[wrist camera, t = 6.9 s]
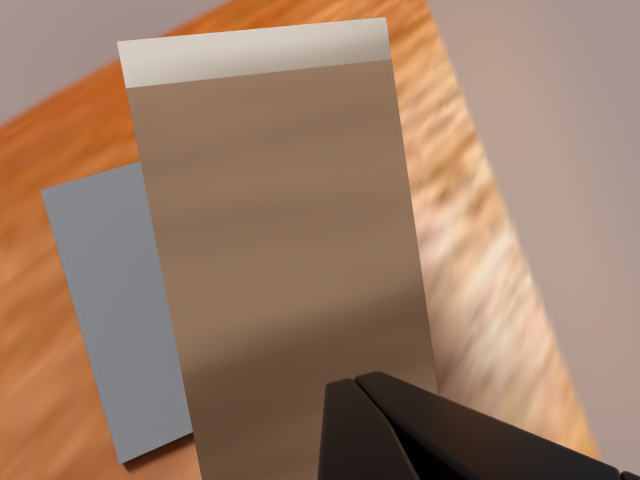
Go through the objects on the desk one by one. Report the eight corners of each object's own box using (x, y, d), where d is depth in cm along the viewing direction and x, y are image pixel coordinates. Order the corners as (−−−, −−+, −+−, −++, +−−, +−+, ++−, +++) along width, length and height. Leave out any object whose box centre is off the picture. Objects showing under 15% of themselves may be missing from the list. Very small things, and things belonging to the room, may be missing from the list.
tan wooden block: (452, 495, 11) (385, 17, 10) (219, 567, 10) (116, 41, 9) (376, 405, 16) (325, 79, 15) (214, 448, 15) (147, 99, 14)
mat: (424, 329, 17) (427, 327, 17) (121, 463, 14) (119, 464, 14) (316, 114, 20) (317, 109, 19) (43, 194, 17) (40, 190, 17)
